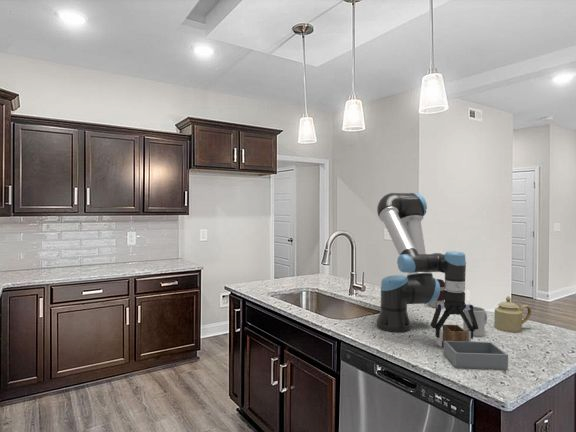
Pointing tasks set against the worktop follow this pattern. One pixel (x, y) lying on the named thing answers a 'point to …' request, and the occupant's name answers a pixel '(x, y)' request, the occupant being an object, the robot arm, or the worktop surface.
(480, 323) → the mug
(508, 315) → the beige teapot
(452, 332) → the walnut crate
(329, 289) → the worktop surface
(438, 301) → the coffee cup
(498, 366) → the grey crate
